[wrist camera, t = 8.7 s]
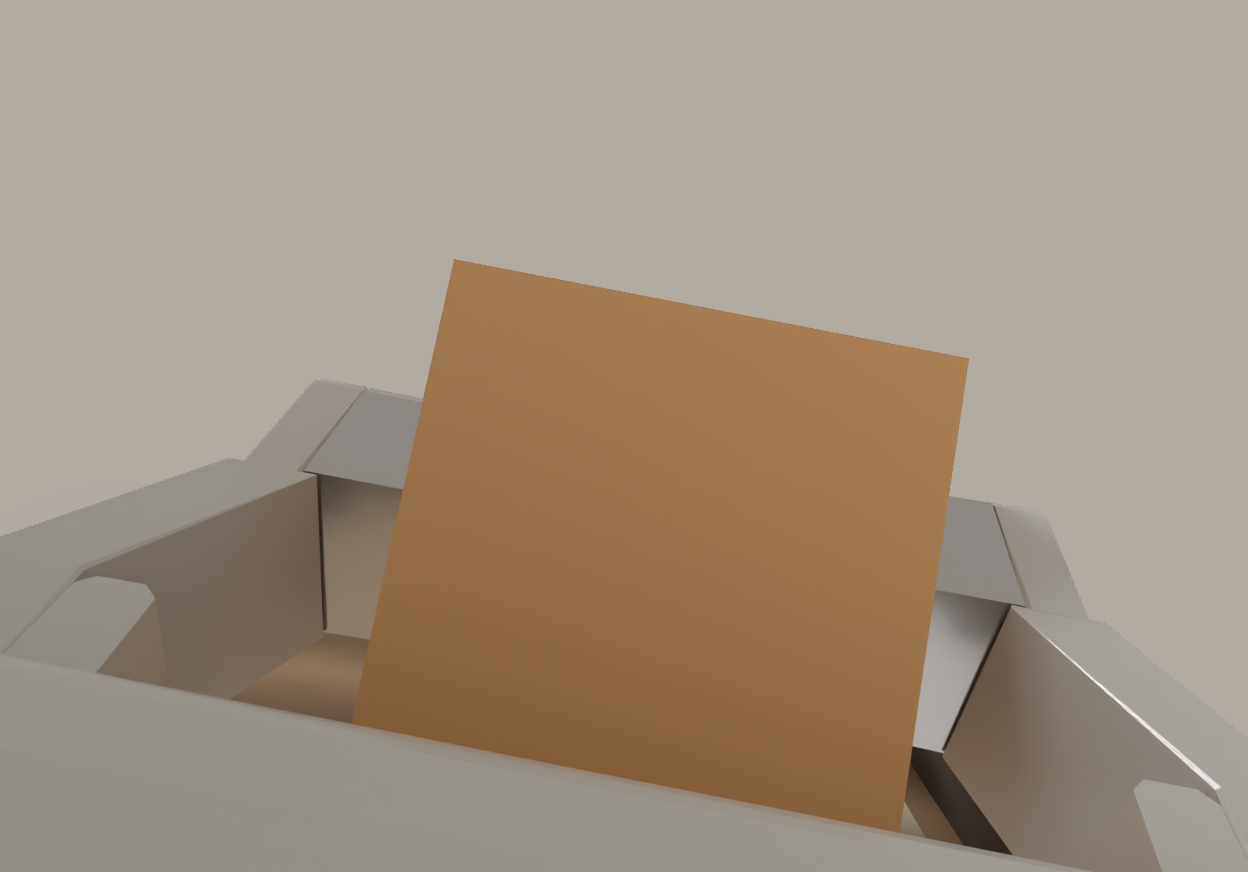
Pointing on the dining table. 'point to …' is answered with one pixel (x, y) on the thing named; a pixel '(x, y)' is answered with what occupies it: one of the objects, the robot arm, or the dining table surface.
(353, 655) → the walnut stand
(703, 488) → the orange block
